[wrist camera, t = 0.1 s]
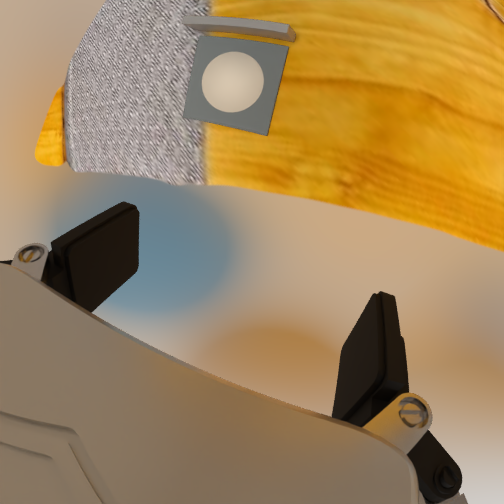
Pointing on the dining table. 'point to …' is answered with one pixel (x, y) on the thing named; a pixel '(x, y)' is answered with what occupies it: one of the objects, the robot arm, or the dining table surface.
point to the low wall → (241, 26)
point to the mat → (235, 82)
